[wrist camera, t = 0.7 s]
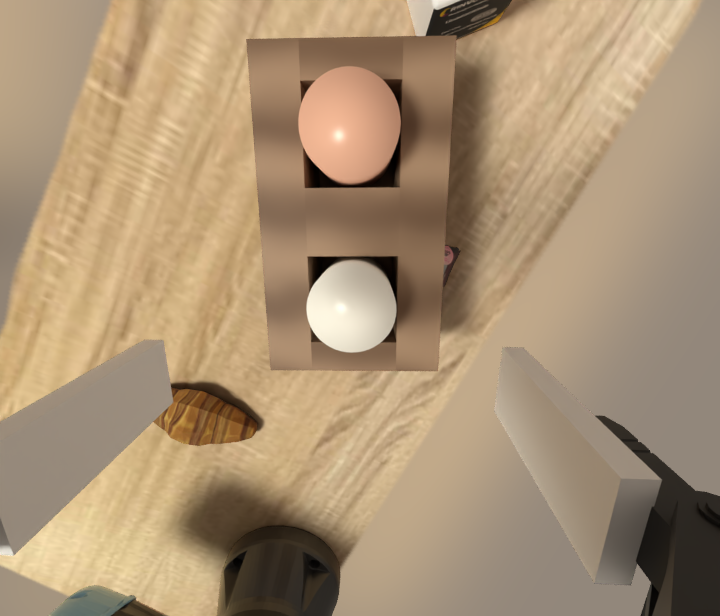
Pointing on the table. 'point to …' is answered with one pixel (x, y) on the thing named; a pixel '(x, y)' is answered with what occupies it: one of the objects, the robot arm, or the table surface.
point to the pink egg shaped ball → (350, 126)
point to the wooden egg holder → (353, 196)
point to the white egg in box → (352, 304)
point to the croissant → (204, 419)
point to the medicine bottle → (454, 16)
